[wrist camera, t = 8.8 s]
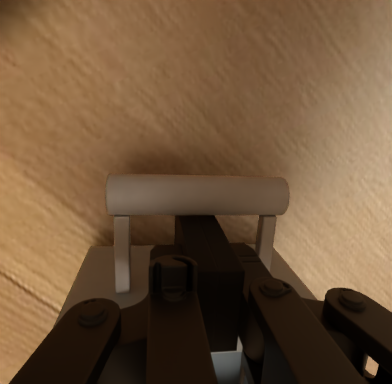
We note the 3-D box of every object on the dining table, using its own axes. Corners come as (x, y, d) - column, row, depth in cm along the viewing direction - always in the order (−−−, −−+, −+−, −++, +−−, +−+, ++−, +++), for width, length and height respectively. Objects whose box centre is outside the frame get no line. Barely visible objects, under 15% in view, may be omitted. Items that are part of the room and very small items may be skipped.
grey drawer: (85, 154, 15) (33, 191, 9) (281, 160, 17) (363, 195, 10) (98, 418, 20) (71, 570, 13) (250, 404, 21) (292, 535, 15)
